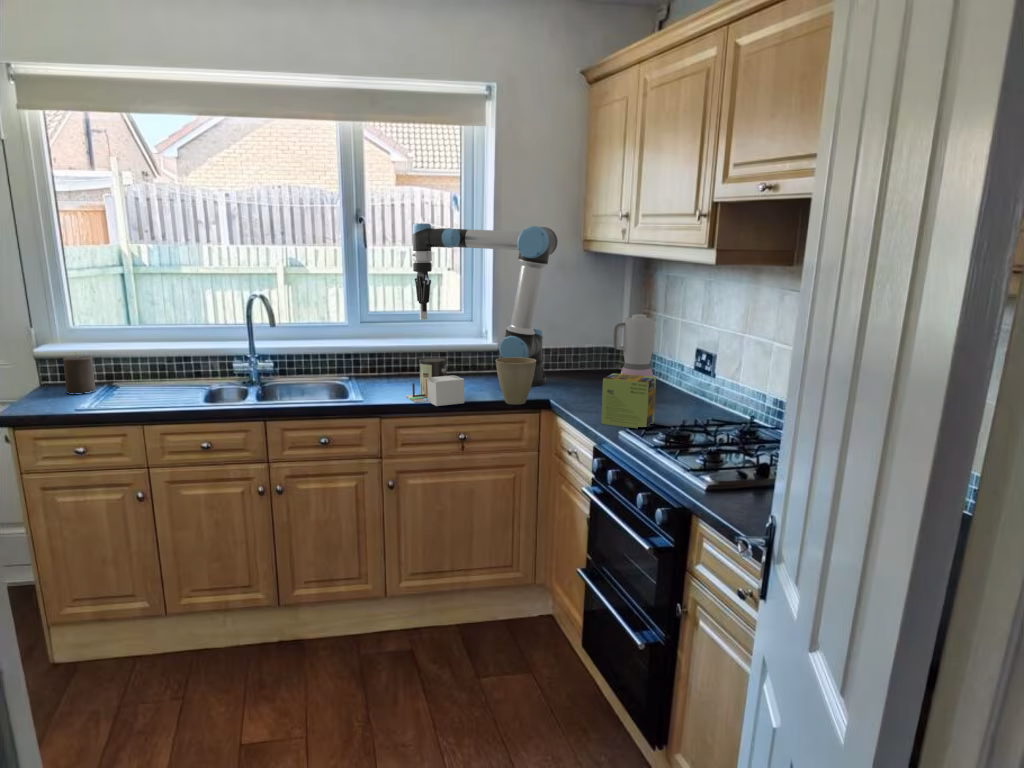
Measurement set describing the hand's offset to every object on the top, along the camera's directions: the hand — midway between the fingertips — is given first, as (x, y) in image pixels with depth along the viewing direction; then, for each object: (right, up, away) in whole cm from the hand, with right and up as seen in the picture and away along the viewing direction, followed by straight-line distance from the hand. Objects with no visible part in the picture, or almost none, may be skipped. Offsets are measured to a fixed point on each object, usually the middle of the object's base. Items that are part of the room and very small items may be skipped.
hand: (423, 319), depth 290 cm
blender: (+82, -33, -26) cm, 93 cm away
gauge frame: (+8, -33, -30) cm, 45 cm away
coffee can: (+7, -32, -22) cm, 39 cm away
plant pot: (+38, -34, -32) cm, 61 cm away
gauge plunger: (+9, -32, -31) cm, 45 cm away
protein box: (+75, -40, -61) cm, 105 cm away
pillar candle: (-130, -31, -20) cm, 135 cm away
